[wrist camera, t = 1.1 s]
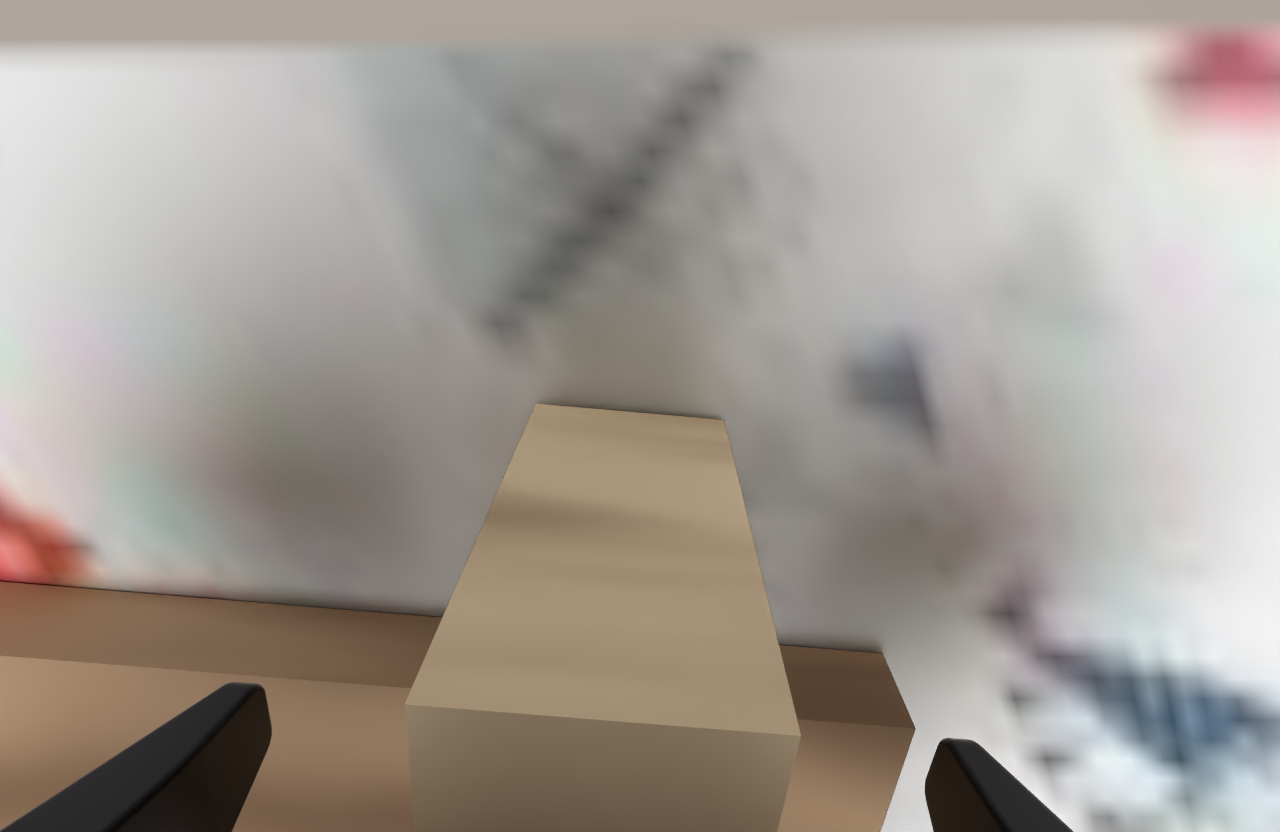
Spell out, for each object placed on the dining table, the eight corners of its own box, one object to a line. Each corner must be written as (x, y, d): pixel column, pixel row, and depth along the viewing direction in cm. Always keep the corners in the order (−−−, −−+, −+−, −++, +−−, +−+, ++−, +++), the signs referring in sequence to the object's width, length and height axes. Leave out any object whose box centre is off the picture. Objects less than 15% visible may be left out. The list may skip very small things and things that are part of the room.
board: (806, 907, 18) (824, 995, 16) (-82, 841, 18) (-167, 923, 16) (882, 653, 15) (916, 729, 13) (-225, 563, 14) (-357, 627, 12)
